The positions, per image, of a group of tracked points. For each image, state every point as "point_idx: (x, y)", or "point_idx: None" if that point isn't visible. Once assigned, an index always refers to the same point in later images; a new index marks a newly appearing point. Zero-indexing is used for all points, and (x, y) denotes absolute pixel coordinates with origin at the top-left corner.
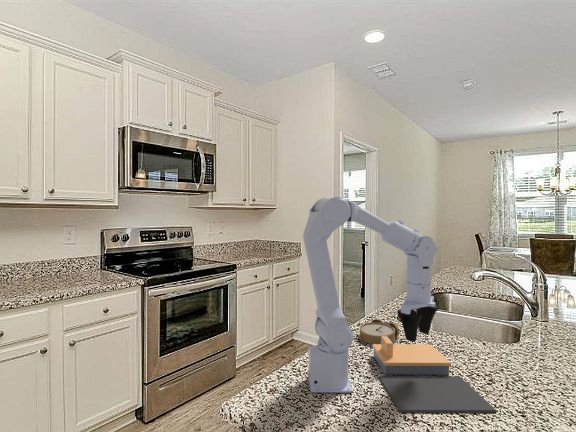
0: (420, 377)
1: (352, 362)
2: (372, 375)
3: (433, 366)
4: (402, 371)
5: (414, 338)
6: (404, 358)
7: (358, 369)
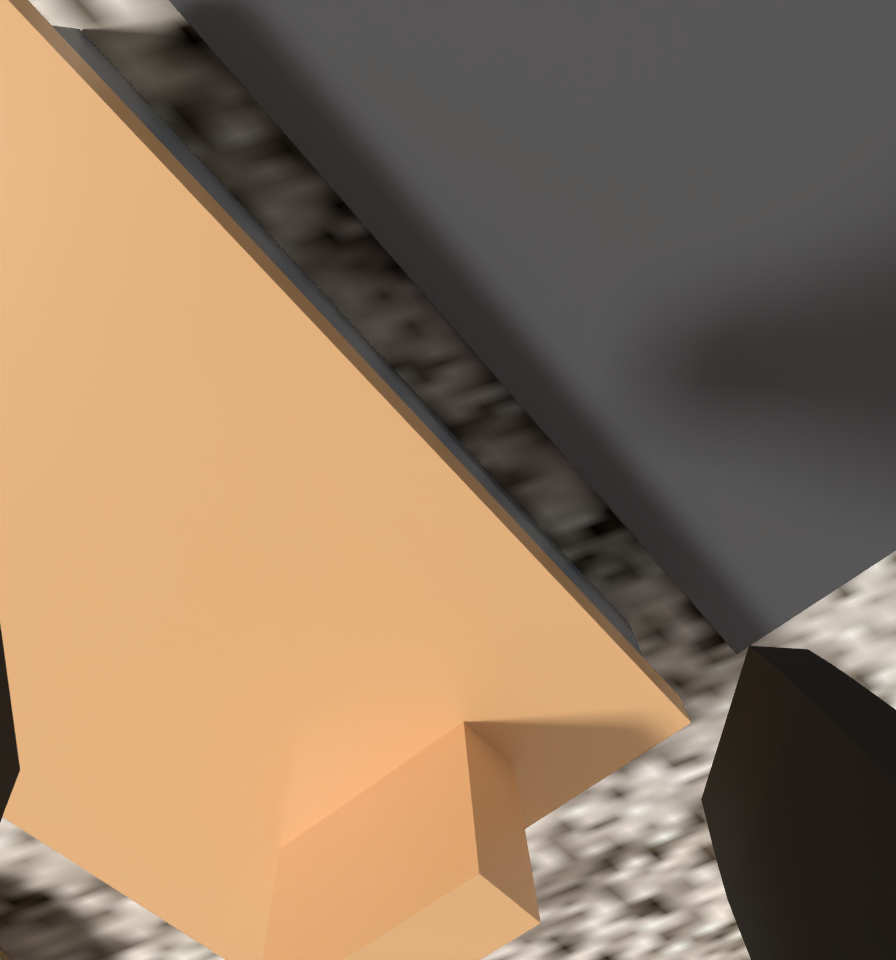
0: (490, 317)
1: (561, 913)
2: (707, 704)
3: None
4: (522, 523)
5: (881, 703)
6: (406, 609)
7: (665, 828)
